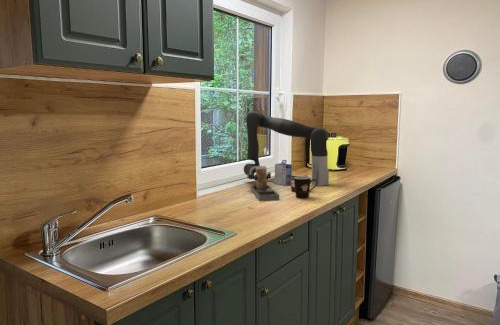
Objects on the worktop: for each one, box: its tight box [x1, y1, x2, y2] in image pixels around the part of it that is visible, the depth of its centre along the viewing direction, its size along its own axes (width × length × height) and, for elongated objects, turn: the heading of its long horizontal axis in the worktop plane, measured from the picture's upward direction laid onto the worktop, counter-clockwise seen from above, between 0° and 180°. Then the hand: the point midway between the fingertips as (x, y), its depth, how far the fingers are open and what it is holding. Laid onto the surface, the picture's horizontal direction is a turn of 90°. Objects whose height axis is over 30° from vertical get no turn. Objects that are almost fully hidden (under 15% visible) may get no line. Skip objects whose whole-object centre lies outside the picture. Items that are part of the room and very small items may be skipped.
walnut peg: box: [255, 165, 268, 189], centre depth 202 cm, size 5×5×14 cm
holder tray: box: [250, 184, 280, 202], centre depth 195 cm, size 10×26×2 cm, turn 9°
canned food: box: [290, 174, 309, 193], centre depth 203 cm, size 11×10×10 cm
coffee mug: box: [293, 175, 318, 200], centre depth 187 cm, size 12×9×10 cm
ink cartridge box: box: [274, 159, 293, 186], centre depth 223 cm, size 10×6×14 cm, turn 39°
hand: (262, 178), depth 200 cm, fingers closed on walnut peg, 5 cm apart
